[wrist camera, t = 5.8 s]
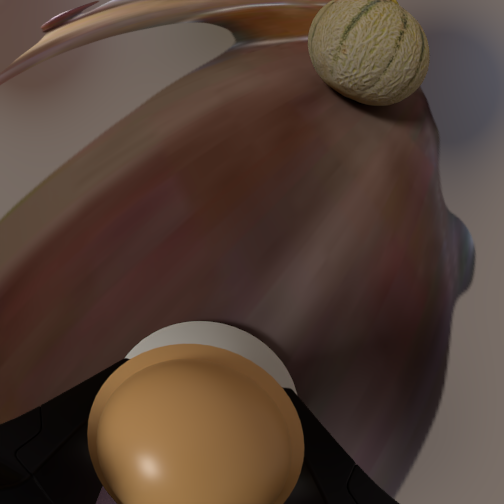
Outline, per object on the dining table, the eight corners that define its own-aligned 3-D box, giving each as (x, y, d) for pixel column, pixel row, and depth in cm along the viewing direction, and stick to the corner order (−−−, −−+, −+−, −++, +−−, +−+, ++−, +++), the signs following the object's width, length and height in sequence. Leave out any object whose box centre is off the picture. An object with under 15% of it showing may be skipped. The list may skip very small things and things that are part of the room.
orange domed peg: (270, 443, 13) (417, 517, 3) (173, 476, 11) (108, 615, 1) (232, 353, 15) (292, 235, 5) (136, 383, 13) (-15, 327, 3)
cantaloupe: (292, 107, 30) (329, -18, 17) (298, 56, 37) (323, -31, 24) (411, 145, 31) (472, 47, 17) (391, 86, 38) (427, 10, 24)
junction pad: (330, 414, 17) (336, 415, 16) (198, 524, 12) (198, 529, 11) (213, 290, 19) (213, 285, 19) (80, 390, 15) (74, 390, 14)
